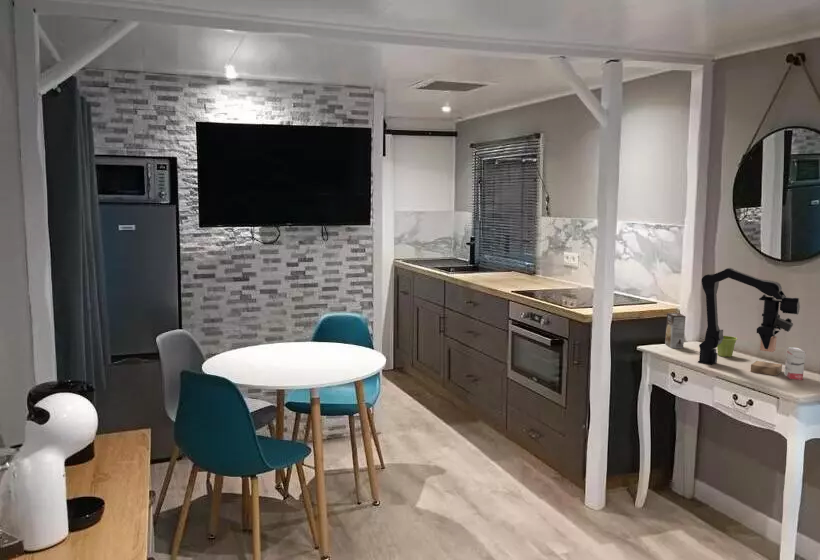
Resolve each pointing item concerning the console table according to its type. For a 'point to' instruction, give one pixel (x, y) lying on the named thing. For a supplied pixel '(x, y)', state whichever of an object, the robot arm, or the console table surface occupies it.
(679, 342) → the coffee box
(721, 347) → the plant pot
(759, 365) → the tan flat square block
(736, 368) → the console table surface
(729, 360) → the console table surface
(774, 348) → the peach block
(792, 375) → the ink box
